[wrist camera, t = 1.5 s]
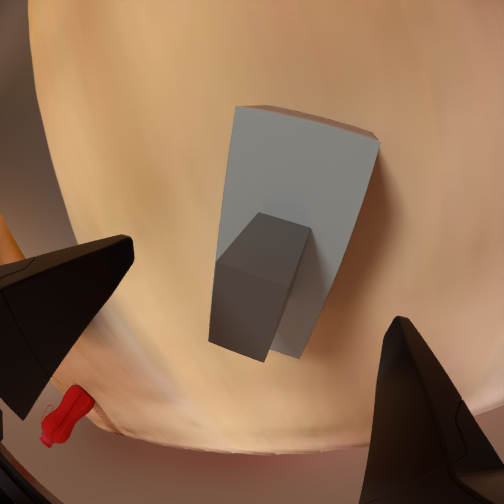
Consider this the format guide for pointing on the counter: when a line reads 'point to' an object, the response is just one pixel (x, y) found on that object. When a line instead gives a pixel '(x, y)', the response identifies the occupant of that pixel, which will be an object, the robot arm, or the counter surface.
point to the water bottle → (66, 416)
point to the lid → (283, 228)
